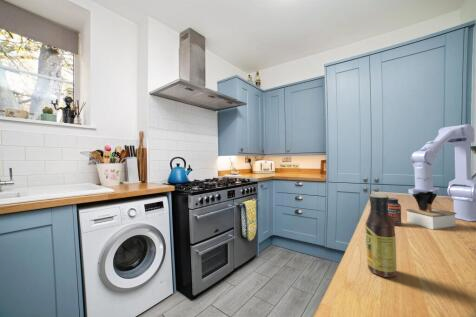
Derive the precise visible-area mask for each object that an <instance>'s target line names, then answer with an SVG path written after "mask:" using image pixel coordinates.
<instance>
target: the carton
mask: <svg viewBox="0 0 476 317" xmlns="http://www.w3.org/2000/svg"><path fill="white" fill-rule="evenodd" d="M406 218H407V219H406V220H407V221H406V222H407V223H408V224H412V225H416V226H419V227H423V228H427V229H430V230H441V229H450V228H456V218H455V215H444V216H434V217H433V216H428V215H424V214H420V213H415V212H411V211H407V210H406Z"/></svg>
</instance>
